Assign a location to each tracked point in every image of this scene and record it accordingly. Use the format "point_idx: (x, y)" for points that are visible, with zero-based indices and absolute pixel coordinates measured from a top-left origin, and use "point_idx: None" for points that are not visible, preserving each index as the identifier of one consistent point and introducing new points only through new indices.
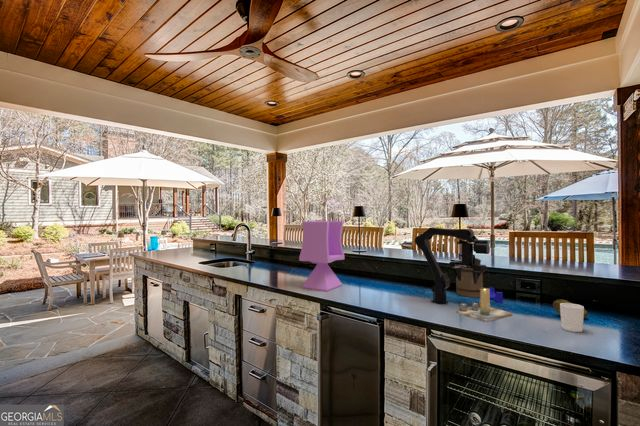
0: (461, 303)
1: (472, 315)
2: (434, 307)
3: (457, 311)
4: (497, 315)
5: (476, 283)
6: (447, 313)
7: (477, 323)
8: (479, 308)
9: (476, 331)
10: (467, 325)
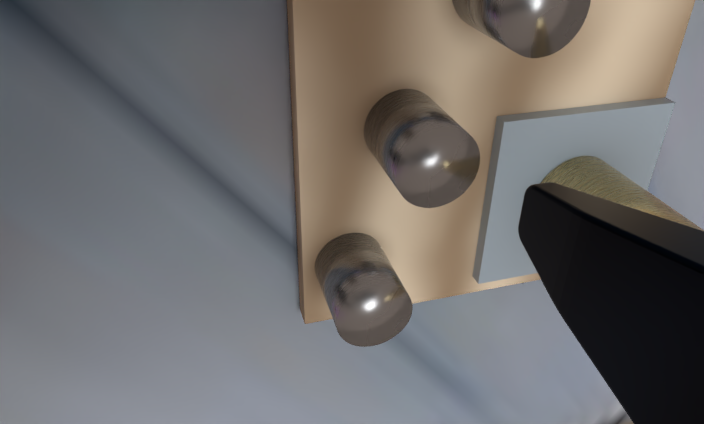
0: (361, 332)
1: (490, 287)
2: (44, 397)
3: (324, 317)
4: (669, 112)
5: (559, 190)
6: (282, 386)
7: (568, 328)
8: (395, 12)
9: (617, 413)
10: (540, 403)
